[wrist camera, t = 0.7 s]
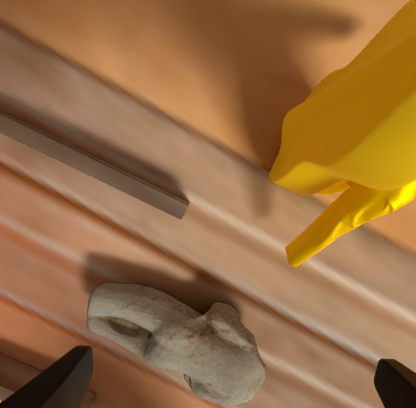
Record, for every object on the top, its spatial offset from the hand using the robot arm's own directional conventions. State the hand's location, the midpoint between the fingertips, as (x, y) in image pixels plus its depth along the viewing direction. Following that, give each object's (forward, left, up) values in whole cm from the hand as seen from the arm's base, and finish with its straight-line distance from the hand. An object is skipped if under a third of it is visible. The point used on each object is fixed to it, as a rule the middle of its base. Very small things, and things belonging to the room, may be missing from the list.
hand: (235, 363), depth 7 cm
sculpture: (-8, 0, -14) cm, 16 cm away
